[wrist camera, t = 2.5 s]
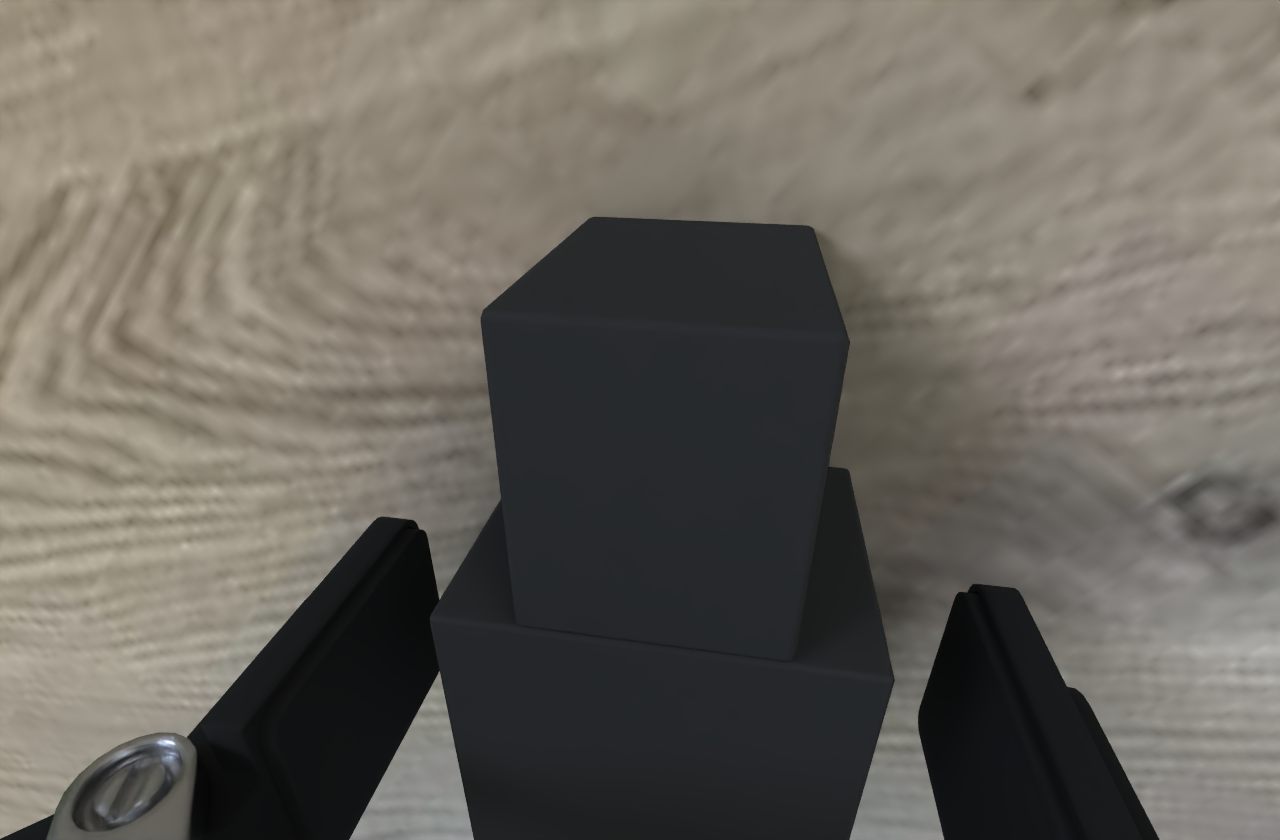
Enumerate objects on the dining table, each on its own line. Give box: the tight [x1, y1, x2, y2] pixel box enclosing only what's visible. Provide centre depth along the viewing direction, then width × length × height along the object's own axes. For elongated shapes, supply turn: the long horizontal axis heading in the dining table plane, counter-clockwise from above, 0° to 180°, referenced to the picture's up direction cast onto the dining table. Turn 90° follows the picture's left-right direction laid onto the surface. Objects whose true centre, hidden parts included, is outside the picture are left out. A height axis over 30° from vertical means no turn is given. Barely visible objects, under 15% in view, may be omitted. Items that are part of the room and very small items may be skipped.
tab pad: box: [430, 217, 895, 840], centre depth 9 cm, size 9×5×4 cm, turn 0°
